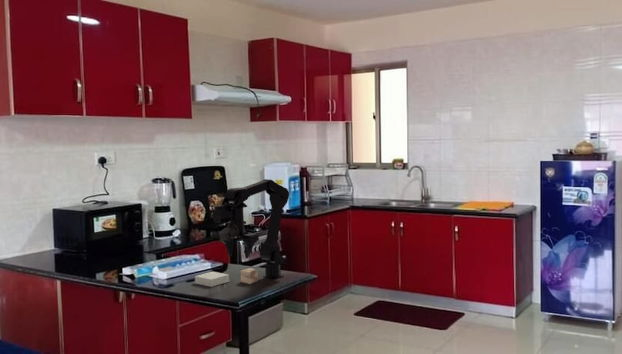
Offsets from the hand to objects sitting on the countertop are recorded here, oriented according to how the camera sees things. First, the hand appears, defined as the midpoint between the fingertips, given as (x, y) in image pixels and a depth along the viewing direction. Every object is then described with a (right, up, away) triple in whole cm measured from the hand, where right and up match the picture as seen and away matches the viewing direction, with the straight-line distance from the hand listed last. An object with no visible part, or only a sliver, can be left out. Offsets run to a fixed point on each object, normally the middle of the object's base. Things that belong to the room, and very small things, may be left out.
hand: (238, 257), depth 236 cm
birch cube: (+4, -12, +8) cm, 14 cm away
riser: (-12, -12, +7) cm, 18 cm away
